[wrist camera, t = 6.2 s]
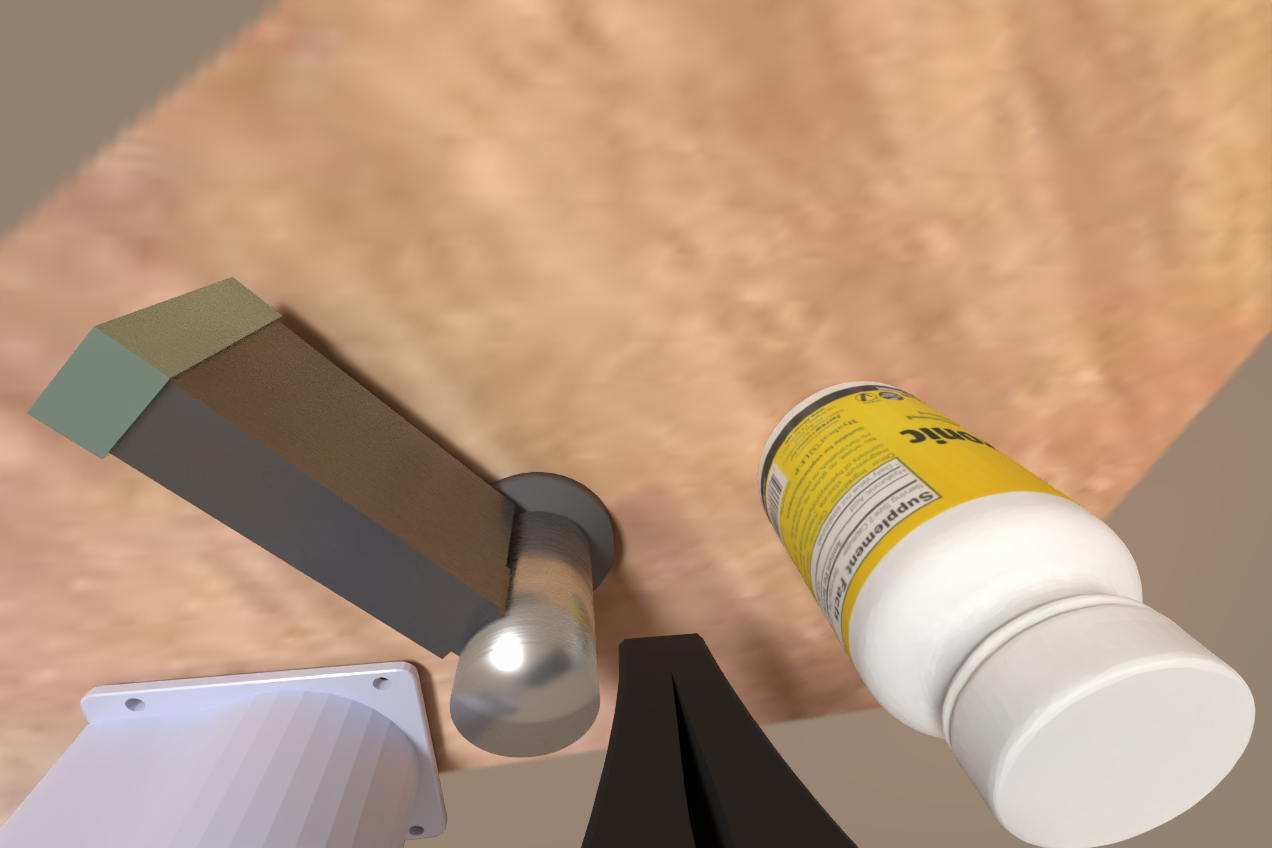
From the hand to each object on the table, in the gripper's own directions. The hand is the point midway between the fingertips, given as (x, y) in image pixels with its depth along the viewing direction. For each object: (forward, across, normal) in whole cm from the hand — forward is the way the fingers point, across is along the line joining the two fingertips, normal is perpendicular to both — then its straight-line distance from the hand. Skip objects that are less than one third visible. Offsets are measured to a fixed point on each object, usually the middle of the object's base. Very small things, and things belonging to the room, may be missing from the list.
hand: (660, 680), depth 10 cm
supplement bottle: (+8, -6, 0) cm, 10 cm away
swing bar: (+6, +5, -1) cm, 8 cm away
